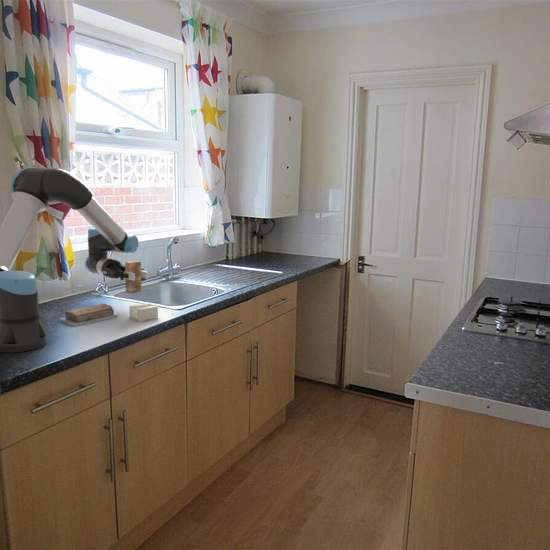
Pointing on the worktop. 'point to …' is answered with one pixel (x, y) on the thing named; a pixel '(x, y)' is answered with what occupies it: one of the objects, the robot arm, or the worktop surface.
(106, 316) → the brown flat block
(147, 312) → the cream stone block
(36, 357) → the worktop surface
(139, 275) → the oak plank
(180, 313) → the worktop surface
